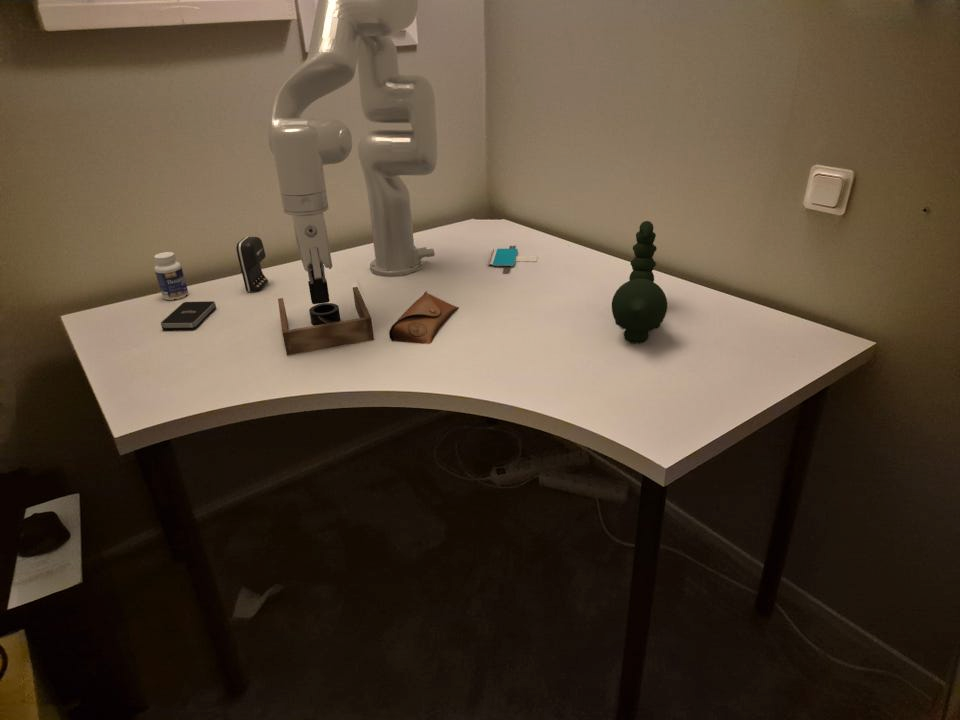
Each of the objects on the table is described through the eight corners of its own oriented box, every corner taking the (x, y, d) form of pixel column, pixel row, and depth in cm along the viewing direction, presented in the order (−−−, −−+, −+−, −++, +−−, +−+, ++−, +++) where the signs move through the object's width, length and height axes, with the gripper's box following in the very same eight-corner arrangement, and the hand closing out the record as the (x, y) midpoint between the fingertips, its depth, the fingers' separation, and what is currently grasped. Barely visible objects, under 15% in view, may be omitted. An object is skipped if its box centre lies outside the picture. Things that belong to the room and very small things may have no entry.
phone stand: (534, 276, 146) (534, 269, 145) (483, 275, 147) (483, 269, 146) (538, 248, 163) (538, 242, 162) (493, 248, 164) (492, 242, 164)
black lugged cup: (300, 333, 122) (297, 319, 121) (313, 312, 131) (311, 299, 130) (339, 332, 122) (337, 319, 121) (350, 311, 131) (348, 298, 129)
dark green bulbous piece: (615, 308, 131) (605, 355, 108) (622, 214, 123) (613, 244, 101) (662, 311, 129) (663, 360, 106) (673, 216, 121) (676, 247, 98)
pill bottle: (172, 302, 138) (160, 260, 133) (158, 298, 140) (145, 256, 136) (194, 294, 142) (182, 252, 137) (179, 290, 144) (167, 249, 140)
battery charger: (261, 293, 141) (251, 243, 136) (245, 293, 141) (234, 244, 136) (273, 281, 147) (263, 234, 142) (257, 281, 147) (246, 234, 142)
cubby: (360, 306, 132) (357, 286, 130) (374, 340, 118) (371, 318, 116) (282, 319, 128) (277, 298, 126) (286, 355, 114) (282, 333, 112)
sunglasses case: (431, 344, 115) (411, 314, 113) (403, 358, 119) (383, 329, 117) (461, 306, 130) (443, 279, 129) (434, 319, 134) (417, 293, 132)
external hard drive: (218, 309, 134) (215, 301, 134) (195, 332, 125) (193, 323, 124) (186, 310, 135) (184, 301, 134) (161, 333, 125) (158, 324, 124)
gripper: (332, 209, 102) (346, 313, 110) (322, 191, 115) (336, 286, 123) (284, 214, 100) (302, 319, 108) (280, 195, 113) (297, 291, 121)
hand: (320, 301), depth 116 cm, fingers closed
